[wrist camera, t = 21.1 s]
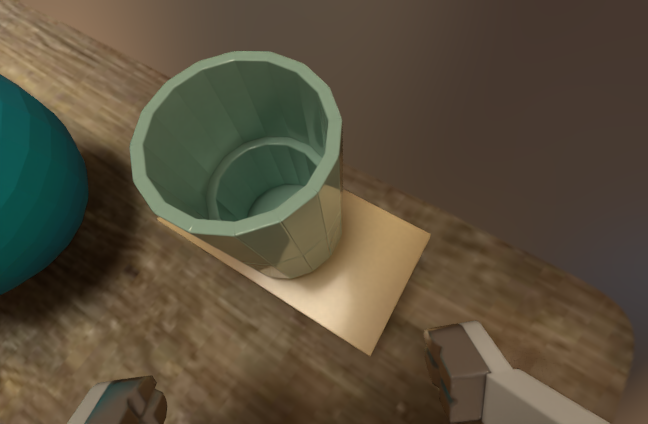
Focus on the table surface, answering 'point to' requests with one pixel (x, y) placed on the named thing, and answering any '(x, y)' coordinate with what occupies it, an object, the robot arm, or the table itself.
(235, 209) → the sage green tumbler
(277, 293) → the shelf
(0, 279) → the decorative orb
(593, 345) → the table surface
